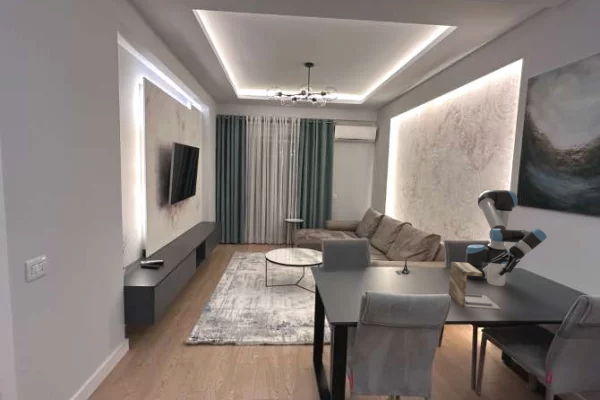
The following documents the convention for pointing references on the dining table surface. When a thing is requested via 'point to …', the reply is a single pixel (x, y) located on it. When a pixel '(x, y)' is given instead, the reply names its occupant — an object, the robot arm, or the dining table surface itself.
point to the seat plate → (479, 301)
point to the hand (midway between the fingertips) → (489, 274)
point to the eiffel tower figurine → (404, 270)
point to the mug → (493, 270)
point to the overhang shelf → (460, 280)
